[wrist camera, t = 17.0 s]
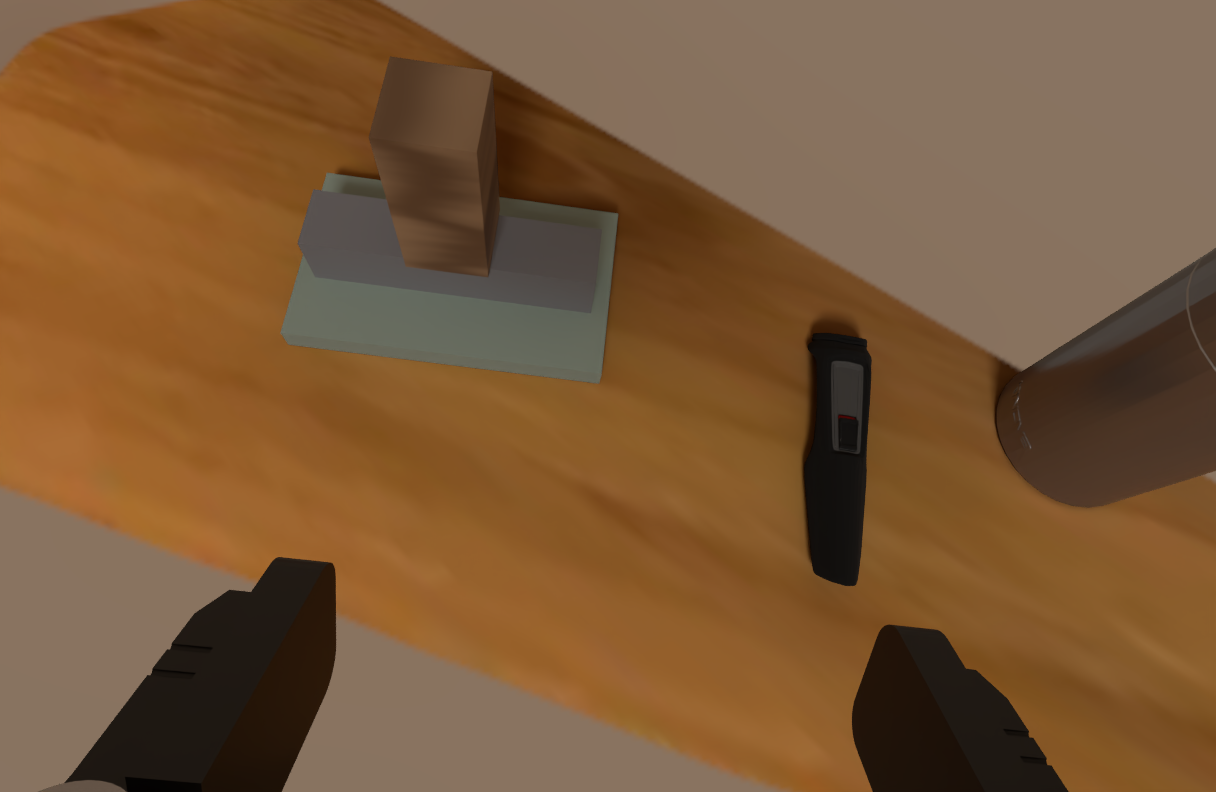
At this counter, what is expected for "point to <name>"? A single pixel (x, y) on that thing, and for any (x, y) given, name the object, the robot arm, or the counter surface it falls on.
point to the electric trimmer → (838, 456)
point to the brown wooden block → (439, 164)
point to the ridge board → (456, 315)
